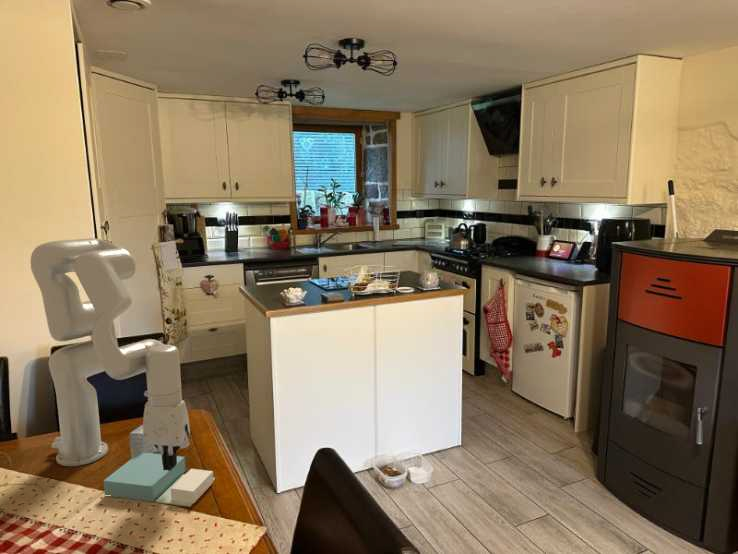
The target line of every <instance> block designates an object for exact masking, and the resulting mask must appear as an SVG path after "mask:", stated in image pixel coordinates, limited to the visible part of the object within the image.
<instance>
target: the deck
mask: <svg viewBox="0 0 738 554" xmlns="http://www.w3.org/2000/svg"><path fill="white" fill-rule="evenodd" d="M185 459H186V458H185V456H180V455H177V464H176V466H175V467H174V468H172V469H171V470H170V471H168V470H163V464H162V455H160V454H159V453H158V454H153V453H143V452H140V453H138V454H137V455H136V456H134V457H133V458H132V459H129V460H128V461H127V462H126V463H124V464H123V465H122V466H120V467H119V468H117V469H116V470H115V471H114V472H112V473H111V474H110V475H109V476H107V477H106V478H105V479H104V480H103V488H104V490H103V491H104V496H105V495H111V496H116V497H115V498H117V497H121V498H120V499H125V498H128V500H134V501H135V500H136V501H142V502H149V503H154V502H155V501H156V500H157V499H158V498H159V497H160V496H161V495H162V494H163V493H164V492H165V491H166V490H167V489H168V488H169V487H170V486H171V485H172V484H173V483H174V482H175V481H177V480H178V479H179V478H180V477H181V476H182V475H183V474H184V473H185V472H186V460H185Z"/></svg>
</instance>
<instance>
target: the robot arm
mask: <svg viewBox="0 0 738 554" xmlns="http://www.w3.org/2000/svg"><path fill="white" fill-rule="evenodd" d="M136 266H137V265H136V261H135V259H134V257H133V255H132V254H131V253H130V252H129V250H126V249H125V248H124V247H122V246H119V245H116V244H115V243H111V242H109V241H106V240H103V239H100V238H95V237H94V238H92V237H91V238H80V239H79V238H77V239H63V240H53V241H48V242H45V243H42V244H40V245H37V246H36V247H35V248H34V249H33V251H32V253H31V254H30V270H31V272H32V275H33V277H34V280H35V282H36V283H37V286H38V288H39V290H40V293H41V297H42V303H43V308H44V311H45V312H44V314H45V317H46V323H47V327H48V330H49V335H50V337H51V338H52V339H53V340H54V341H57V342H68V341H73V340H78V339H81V338H82V339H83V338H85V337H90V339H89V340H86V341H84V342H78V343H75V344H70V345H67V346H66V345H65V346H63V347H61V348H59V349H57V350H55V351H54V352H53V353H52V354H51V355H50V357H49V359H48V368H49V372H50V375H51V378H52V381H53V385H54V389H55V394H56V397H55V398H56V405H57V414H58V422H59V423H58V424H59V432H60V433H59V434H60V436H56V437H55V438H54V439H53V442H52V443H51V448H53V449H58V453H57V454H56V457H55V460H56V463H57V464H58V465H60V466H64V467H78V466H83V465H88V464H90V463H93V462H96V461H98V460H99V459H101V458H103V457H104V456H105V455H106V454H107V453H108V451H109V446H108V444H107V443H106V442H104V441H102V437H101V436H102V435H101V424H100V415H99V414H100V413H99V412H100V411H99V403H98V394H97V390H96V388H95V387H94V386H93V385H92V384H91V383H90V382H89V381H88V379H87V378H89V377H92V376H94V375H97V374H100V373H103V372H105V373H106V374H107V375H108V376H109V377H110V378H112V379H113V380H117V381H119V380H120V381H121V380H125V379H129V378H131V377H134V376H138V375H140V374H142V373H145V375H146V387H147V390H145V391H143V392H144V393H143V395H144V397H147V401H146V403H145V404H144V411H143V417H142V418H143V419H142V420H143V421H142V425H143V436H144V441H145V442H146V443H148V444H150V445H153V446H155V447H156V448H157V449H158V450H159V453H158V454H160V455H162V464H163V470H168V471H170V470H171V469H172V468H174V467H175V466H176V464H177V456H178V455H177V454H178V453H177V452H178V451H179V449H186V448H188V447H189V446H190V445H191V444H190V440H189V438H190V436H191V427H190V420H189V419H190V418H189V413H188V408H187V405H186V402H185V400H183V393H182V392H183V391H182V380H181V379H182V377H181V375H182V374H181V361H180V359H181V358H180V351H179V348H178V347H177V346H176V345H172V344H164V343H163V342H161V341H159V340H156V339H152V338H149V339H143V340H140V341H137V342H132V343H130V344H129V343H128V344H126V345H122V346H119V343H118V338H117V334H116V333H117V332H116V326H115V322H114V320H116V318H118V317H119V316H121V315H122V314H123V313H124V312H126V311H128V309H129V308H130V306H131V305H132V303H133V300H132V297H131V295H130V293H129V291H128V290H127V288H126V286H125V284H124V283H123V280H129V279H130V278H132V277H133V276H134V275H135V273H136V270H137V267H136ZM68 273H75V276H76V277H77V278H78V280H79V282H80V284H81V286H82V288H83V290H84V292H85V294H86V296H87V298H88V300H87V301H82V300H81V295H80V289H79V286H78V285H77V283H76V282H75V281H74V280H73V279H72V278H71V277H70V276H69V275H68Z"/></svg>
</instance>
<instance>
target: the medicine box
mask: <svg viewBox="0 0 738 554" xmlns="http://www.w3.org/2000/svg"><path fill="white" fill-rule="evenodd" d="M129 447H130V454H131V455H130V456H131V459H132V458H133V457H134V456H136V455H137V454H138V453H140V452H143V453H153V454H159V450H158V449H157V448H156V447H155V446H153V445H150V444H148V443H146V442H145V441H144V436H143V424H141V425H140V426H138V427H136V429H134V430H133V431H130V432H129ZM131 459H130V460H131Z"/></svg>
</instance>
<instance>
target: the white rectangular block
mask: <svg viewBox="0 0 738 554" xmlns="http://www.w3.org/2000/svg"><path fill="white" fill-rule="evenodd" d="M213 478H214V472H213V471H212V470H205V469H197V468H190V469H189V470H188V471H187V472H186V473H185V475H184V476H183V477H182V478H181V479H180V480H179V481H178V482H177V483H176V484H175V485H174V486H172V487H171V488H170V489H171V500H175V501H182V502H189V503H193V504H195V503H196V502H197V501H198V499H200V498H201V496H203V494H205V492H206V491H207V490H208V489H209V488H210V487H211V486H212V485H213V484H214V481H213Z"/></svg>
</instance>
